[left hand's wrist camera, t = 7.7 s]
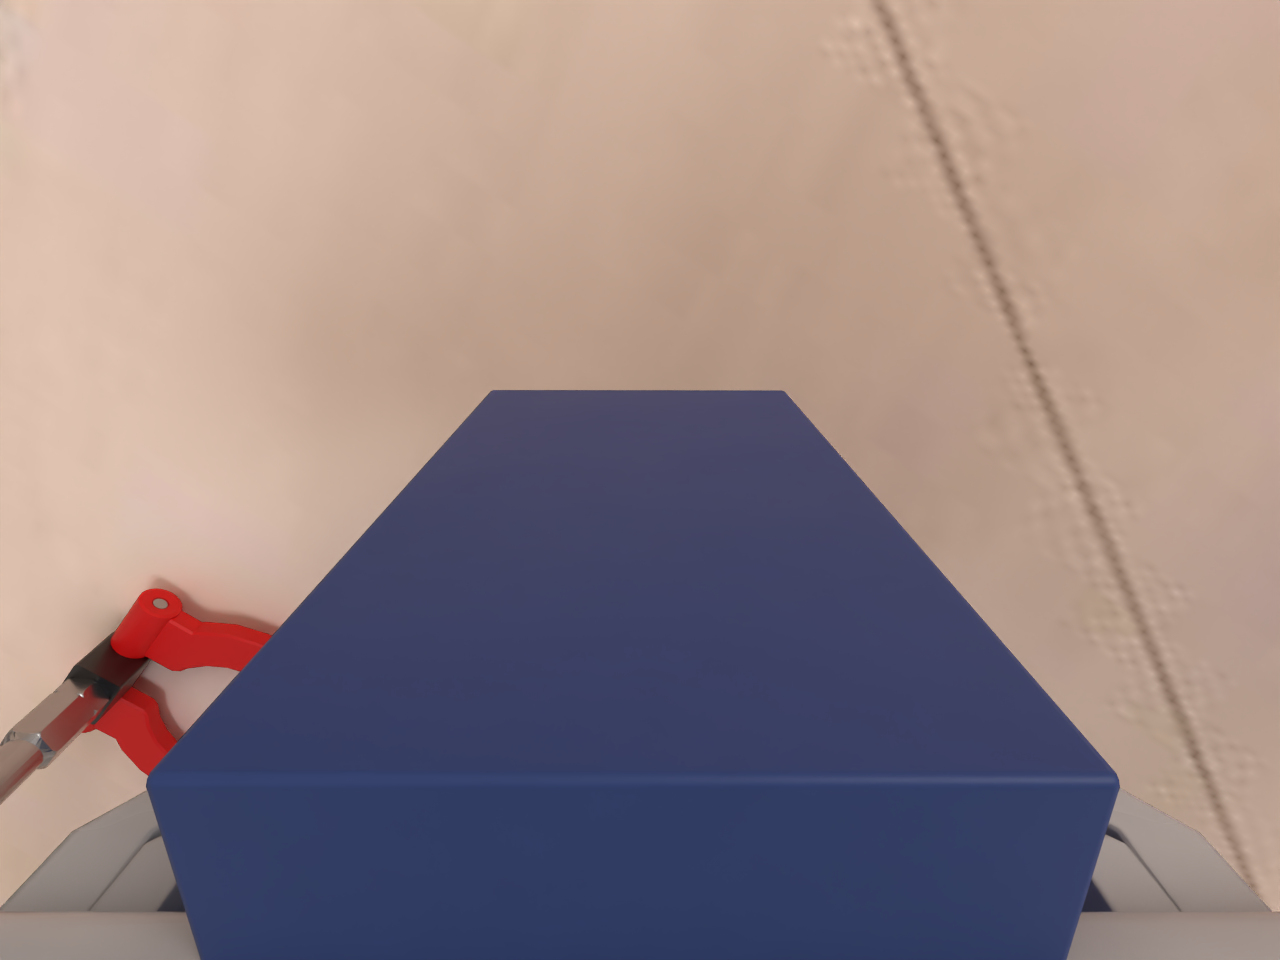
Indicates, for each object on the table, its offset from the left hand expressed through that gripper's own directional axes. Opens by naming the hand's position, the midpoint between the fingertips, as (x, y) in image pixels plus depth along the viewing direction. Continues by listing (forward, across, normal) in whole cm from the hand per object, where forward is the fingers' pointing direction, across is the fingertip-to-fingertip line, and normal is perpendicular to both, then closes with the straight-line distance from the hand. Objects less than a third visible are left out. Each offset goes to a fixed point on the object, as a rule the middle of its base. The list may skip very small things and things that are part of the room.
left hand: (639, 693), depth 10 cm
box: (+5, 0, -10) cm, 12 cm away
